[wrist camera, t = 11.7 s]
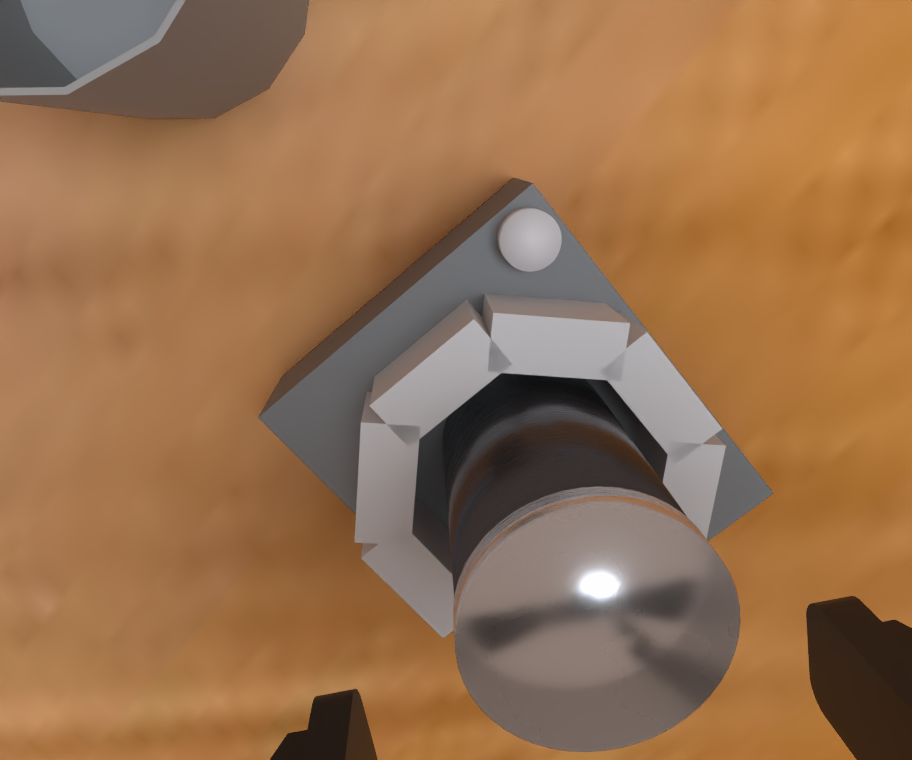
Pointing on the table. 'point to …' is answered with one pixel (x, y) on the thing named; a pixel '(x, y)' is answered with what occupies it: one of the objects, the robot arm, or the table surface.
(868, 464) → the table surface
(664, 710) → the lens
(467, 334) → the grey block with ring
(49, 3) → the cup
